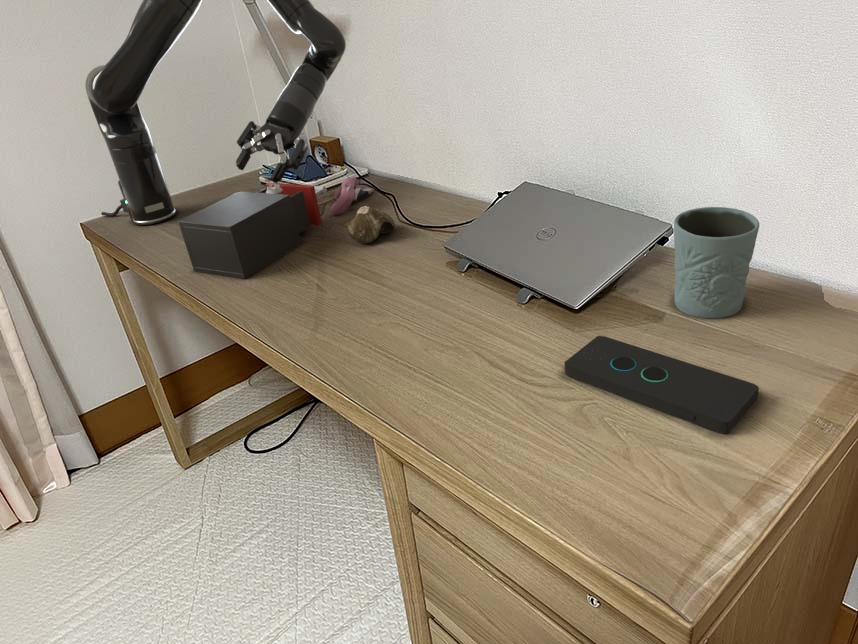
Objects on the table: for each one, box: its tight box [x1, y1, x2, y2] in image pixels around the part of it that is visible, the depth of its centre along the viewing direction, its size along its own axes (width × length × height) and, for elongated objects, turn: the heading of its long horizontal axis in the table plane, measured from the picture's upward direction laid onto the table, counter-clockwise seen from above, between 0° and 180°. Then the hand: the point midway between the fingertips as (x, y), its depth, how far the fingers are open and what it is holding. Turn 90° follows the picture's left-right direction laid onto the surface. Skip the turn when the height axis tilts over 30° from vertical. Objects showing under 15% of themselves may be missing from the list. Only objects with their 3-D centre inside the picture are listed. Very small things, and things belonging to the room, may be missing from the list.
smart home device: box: [564, 335, 760, 435], centre depth 79 cm, size 8×2×20 cm
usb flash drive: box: [351, 187, 375, 205], centre depth 152 cm, size 9×5×1 cm, turn 147°
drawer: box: [256, 182, 328, 234], centre depth 136 cm, size 21×12×8 cm, turn 151°
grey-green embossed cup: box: [673, 206, 760, 319], centre depth 91 cm, size 10×10×12 cm
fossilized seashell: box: [344, 205, 397, 244], centre depth 129 cm, size 8×7×10 cm
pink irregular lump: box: [330, 176, 358, 216], centre depth 146 cm, size 10×5×7 cm, turn 0°
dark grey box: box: [177, 190, 302, 280], centre depth 127 cm, size 16×13×10 cm
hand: (256, 174), depth 144 cm, fingers open, 8 cm apart
